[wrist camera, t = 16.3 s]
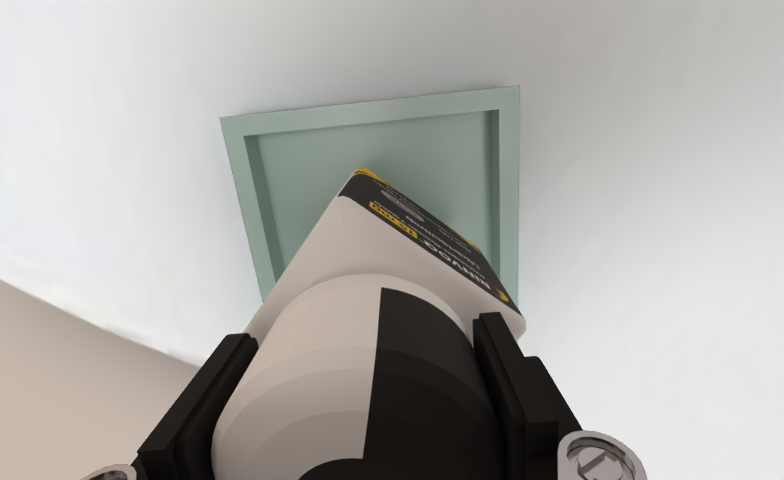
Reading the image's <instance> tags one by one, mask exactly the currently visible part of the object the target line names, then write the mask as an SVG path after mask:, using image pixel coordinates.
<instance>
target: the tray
mask: <svg viewBox="0 0 784 480" xmlns="http://www.w3.org/2000/svg"><path fill="white" fill-rule="evenodd" d="M519 96H520V85H518V86H509V87H500V88H490V89H481V90H472V91H462V92H453V93H444V94H434V95H425V96H415V97H406V98H397V99H387V100H378V101H369V102H359V103H350V104H341V105H331V106H322V107H313V108H303V109H294V110H285V111H275V112H266V113H257V114H247V115H238V116H229V117H219V118H220V122H221V126H222V131H223V135H224V139H225V143H226V148H227V152H228V156H229V160H230V165H231V169H232V173H233V177H234V182H235V186H236V190H237V194H238V199H239V203H240V207H241V211H242V216H243V220H244V224H245V228H246V233H247V237H248V241H249V245H250V250H251V254H252V258H253V262H254V267H255V271H256V275H257V279H258V284H259V288H260V292H261V296H262V301H263V302H264V301H265V299H266V298H267V296H268V295H269V294H270V292H271V291H272V289H273V288H274V286H275V285H276V283H277V282H278V280H279V279H280V277H281V276H282V274H283V273H284V271H285V270H286V268H287V267H288V265H289V264H290V262H291V261H292V259H293V258H294V256H295V255H296V253H297V252H298V250H299V249H300V247H301V246H302V244H303V243H304V241H305V240H306V239H307V237H308V236H309V234H310V233H311V231H312V230H313V228H314V227H315V225H316V224H317V222H318V221H319V219H320V218H321V216H322V215H323V213H324V212H325V210H326V209H327V207H328V206H329V204H330V203H331V201H332V200H333V199H334V197H335V196H336V195H337V193H338V192H339V191H340V189H341V188H342V187H343V185H344V184H345V183H346V181H347V180H348V179H349V177H350V176H351V175H352V173H353V172H354V171H355V170H356V169H357V168H358V167H365V168H367V169H368V170H370V171H371V172H373V173H374V174H375V175H377V176H378V177H380V178H381V179H382V180H384V181H385V182H387V183H388V184H389V185H391V186H392V187H394V188H395V189H396V190H398V191H399V192H401V193H402V194H404V195H405V196H406V197H408V198H409V199H411V200H412V201H413V202H415V203H416V204H418V205H419V206H420V207H422V208H423V209H425V210H426V211H427V212H429V213H430V214H432V215H433V216H435V217H436V218H437V219H439V220H440V221H442V222H443V223H444V224H446V225H447V226H449V227H450V228H451V229H453V230H454V231H456V232H457V233H458V234H460V235H461V236H463V237H464V238H466V239H467V240H468V241H470V242H471V243H473V244H474V245H475V246H477V247H478V248H479V249H480V251H481V252H482V254H483V255H484V257H485V258H486V260H487V261H488V263H489V265H490V266H491V268H492V269H493V271H494V272H495V274H496V275H497V277H498V279H499V280H500V282H501V283H502V285H503V286H504V288H505V289H506V291H507V293H508V294H509V296H510V297H511V299H512V300H513V302H514V303H515V305H516V307H517V308H518V203H519ZM516 342H517V341H516Z"/></svg>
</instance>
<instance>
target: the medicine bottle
mask: <svg viewBox="0 0 784 480" xmlns="http://www.w3.org/2000/svg"><path fill="white" fill-rule="evenodd" d="M488 312H500V313H501V315H502V317H503V318H504V320H505V322H506V324H507V326H508V328H509V329H510V331H511V333H512V335H513V337H514V339H515V341H517V340H518V339H519V338H520V337H521V336H522V335H523V334H524V332H525V330H526V321H525V319H524V317H523V316H522V314H521V313H520V311H519V310H518V308H517V307H516V305H515V303H514V302H513V300H512V299H511V297H510V296H509V294H508V293H507V291H506V289H505V288H504V286H503V285H502V283H501V282H500V280H499V279H498V277H497V275H496V274H495V272H494V271H493V269H492V268H491V266H490V265H489V263H488V261H487V260H486V258H485V257H484V255H483V254H482V252H481V251H480V249H479V248H478V247H477V246H475V245H474V244H473V243H471V242H470V241H468V240H467V239H466V238H464V237H463V236H461V235H460V234H458V233H457V232H456V231H454V230H453V229H451V228H450V227H449V226H447V225H446V224H444V223H443V222H442V221H440V220H439V219H437V218H436V217H435V216H433V215H432V214H430V213H429V212H427V211H426V210H425V209H423V208H422V207H420V206H419V205H418V204H416V203H415V202H413V201H412V200H411V199H409V198H408V197H406V196H405V195H404V194H402V193H401V192H399V191H398V190H396V189H395V188H394V187H392V186H391V185H389V184H388V183H387V182H385V181H384V180H382V179H381V178H380V177H378V176H377V175H375V174H374V173H373V172H371V171H370V170H368V169H367V168H365V167H358V168H357V169H356V170H355V171H354V172H353V173H352V175H351V176H350V177H349V179H348V180H347V181H346V183H345V184H344V185H343V187H342V188H341V189H340V191H339V192H338V193H337V195H336V196H335V197H334V199H333V200H332V201H331V203H330V204H329V206H328V207H327V209H326V210H325V212H324V213H323V215H322V216H321V218H320V219H319V221H318V222H317V224H316V225H315V227H314V228H313V230H312V231H311V233H310V234H309V236H308V237H307V239H306V240H305V241H304V243H303V244H302V246H301V247H300V249H299V250H298V252H297V253H296V255H295V256H294V258H293V259H292V261H291V262H290V264H289V265H288V267H287V268H286V270H285V271H284V273H283V274H282V276H281V277H280V279H279V280H278V282H277V283H276V285H275V286H274V288H273V289H272V291H271V292H270V294H269V295H268V296H267V298H266V299H265V301H264V302H263V304H262V305H261V307H260V308H259V310H258V311H257V313H256V314H255V316H254V317H253V319H252V320H251V322H250V323H249V325H248V326H247V328H246V329H245V331H244V332H243V333H248V334H250V336H251V338H252V337H255V338H256V339H257V342H258V346H259V350H258V351H257V353H256V355H255V356H254V358H253V360H252V362H251V363H250V365H249V367H248V368H247V370H246V372H245V373H244V375H243V377H242V379H241V380H240V382H239V384H238V385H237V387H236V389H235V391H234V392H233V394H232V396H231V397H230V399H229V401H228V402H227V404H226V406H225V408H224V410H223V412H222V413H221V415H220V417H219V419H218V421H217V424H216V427H215V431H214V434H213V438H212V447H211V461H212V470H213V474H214V478H215V480H505V478H506V447H505V442H504V437H503V434H502V431H501V428H500V425H499V422H498V419H497V416H496V413H495V411H494V408H493V405H492V402H491V399H490V396H489V393H488V390H487V387H486V384H485V381H484V378H483V375H482V372H481V369H480V366H479V363H478V360H477V358H476V355H475V352H474V349H473V325H472V321H473V319H477V318H479V314H480V313H488Z"/></svg>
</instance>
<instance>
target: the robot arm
mask: <svg viewBox="0 0 784 480" xmlns="http://www.w3.org/2000/svg"><path fill="white" fill-rule="evenodd" d="M472 325H473V349H474V352H475V355H476V358H477V360H478V363H479V366H480V369H481V372H482V375H483V378H484V381H485V384H486V387H487V390H488V393H489V396H490V399H491V402H492V405H493V408H494V411H495V413H496V416H497V419H498V422H499V425H500V428H501V431H502V434H503V437H504V442H505V447H506V478H505V480H647V475H646V472H645V469H644V467H643V465H642V463H641V461H640V459H639V458H638V457H637V456H636V455H635V453H634V452H633V451H632V450H631V449H629V448H628V447H627V446H626V445H624V444H623V443H622V442H620V441H618V440H617V439H615V438H613V437H611V436H609V435H606V434H603V433H599V432H596V431H586V430H583V429H582V428H581V426H580V424H579V423H578V421H577V419H576V418H575V416H574V414H573V413H572V411H571V409H570V408H569V406H568V404H567V403H566V401H565V399H564V398H563V396H562V394H561V393H560V391H559V389H558V388H557V386H556V384H555V383H554V381H553V379H552V378H551V376H550V374H549V373H548V371H547V369H546V368H545V366H544V364H543V363H542V361H541V360H540V359H539V357H537V356H531V357H524V355H523V354H522V352H521V350H520V348H519V346H518V344H517V342H516V341H515V339H514V337H513V335H512V333H511V331H510V329H509V328H508V326H507V324H506V322H505V320H504V318H503V317H502V315H501V313H500V312H488V313H480V314H479V318H477V319H473V321H472ZM258 350H259V346H258V342H257V339H256V338H255V337H252V338H251V336H250V334H248V333H240V334H229V335H227V336H225V338H224V339H223V340H222V342H221V343H220V344H219V345H218V347H217V348H216V349H215V351H214V352H213V353H212V355H211V356H210V357H209V358H208V360H207V361H206V362H205V364H204V365H203V366H202V368H201V369H200V370H199V372H198V373H197V374H196V375H195V377H194V378H193V379H192V381H191V382H190V383H189V384H188V386H187V387H186V388H185V390H184V391H183V392H182V394H181V395H180V396H179V397H178V399H177V400H176V401H175V403H174V404H173V405H172V406H171V408H170V409H169V410H168V412H167V413H166V414H165V416H164V417H163V418H162V419H161V421H160V422H159V423H158V425H157V426H156V427H155V429H154V430H153V431H152V432H151V434H150V435H149V436H148V438H147V439H146V440H145V442H144V443H143V444H142V445H141V447H140V448H139V449H138V451H137V453H138V456H137V457H136V459H135V460H134V462H133V463H132V464H131V465H128V464H115V465H111V466H107V467H104V468H102V469H100V470H97V471H95V472H93V473H91V474H89V475H88V476H86V477H84V478H83V479H81V480H215V478H214V474H213V470H212V461H211V447H212V438H213V434H214V431H215V427H216V424H217V421H218V419H219V417H220V415H221V413H222V412H223V410H224V408H225V406H226V404H227V402H228V401H229V399H230V397H231V396H232V394H233V392H234V391H235V389H236V387H237V385H238V384H239V382H240V380H241V379H242V377H243V375H244V373H245V372H246V370H247V368H248V367H249V365H250V363H251V362H252V360H253V358H254V356H255V355H256V353H257V351H258Z"/></svg>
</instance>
